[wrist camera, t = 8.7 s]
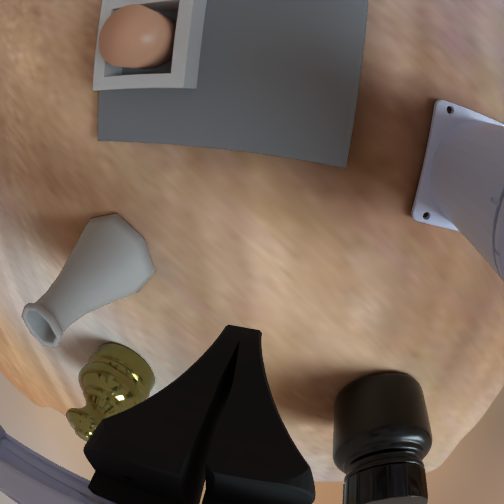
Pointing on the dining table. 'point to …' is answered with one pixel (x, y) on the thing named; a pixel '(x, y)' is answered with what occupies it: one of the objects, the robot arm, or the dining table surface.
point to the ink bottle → (382, 440)
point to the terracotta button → (137, 38)
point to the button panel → (242, 78)
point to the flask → (91, 277)
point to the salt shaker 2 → (110, 386)
